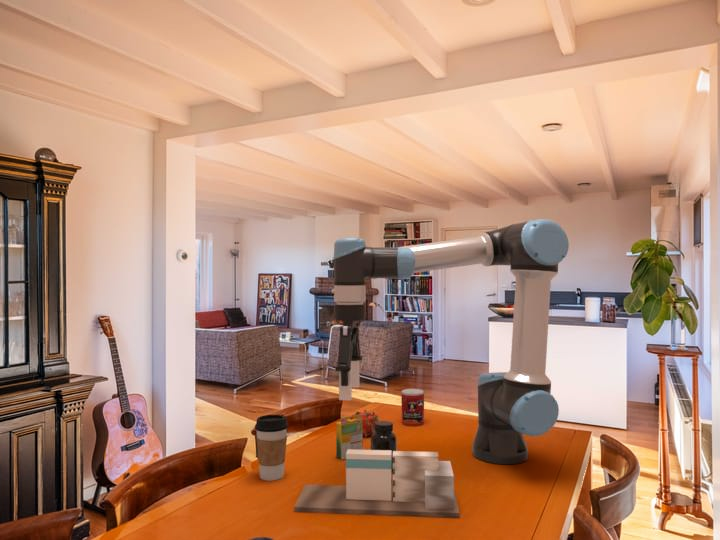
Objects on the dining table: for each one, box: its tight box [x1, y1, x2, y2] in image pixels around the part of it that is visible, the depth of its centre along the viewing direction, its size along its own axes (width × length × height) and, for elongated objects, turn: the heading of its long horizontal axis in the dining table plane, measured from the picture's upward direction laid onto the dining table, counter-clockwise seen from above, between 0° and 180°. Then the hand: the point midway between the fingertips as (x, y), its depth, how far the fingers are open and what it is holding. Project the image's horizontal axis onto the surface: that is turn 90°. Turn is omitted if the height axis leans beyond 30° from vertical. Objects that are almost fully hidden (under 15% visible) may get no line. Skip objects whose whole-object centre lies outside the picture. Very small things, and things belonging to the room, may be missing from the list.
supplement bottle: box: [370, 420, 398, 473], centre depth 135 cm, size 7×7×12 cm
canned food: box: [400, 388, 425, 427], centre depth 177 cm, size 8×8×11 cm
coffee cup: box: [254, 414, 289, 482], centre depth 130 cm, size 8×8×15 cm
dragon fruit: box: [349, 409, 379, 438], centre depth 164 cm, size 8×8×12 cm
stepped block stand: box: [293, 450, 461, 519], centre depth 115 cm, size 35×12×11 cm, turn 85°
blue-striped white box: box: [345, 449, 393, 501], centre depth 115 cm, size 10×3×10 cm, turn 85°
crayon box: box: [335, 414, 364, 461], centre depth 145 cm, size 7×3×12 cm, turn 123°
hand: (349, 393), depth 122 cm, fingers open, 13 cm apart
